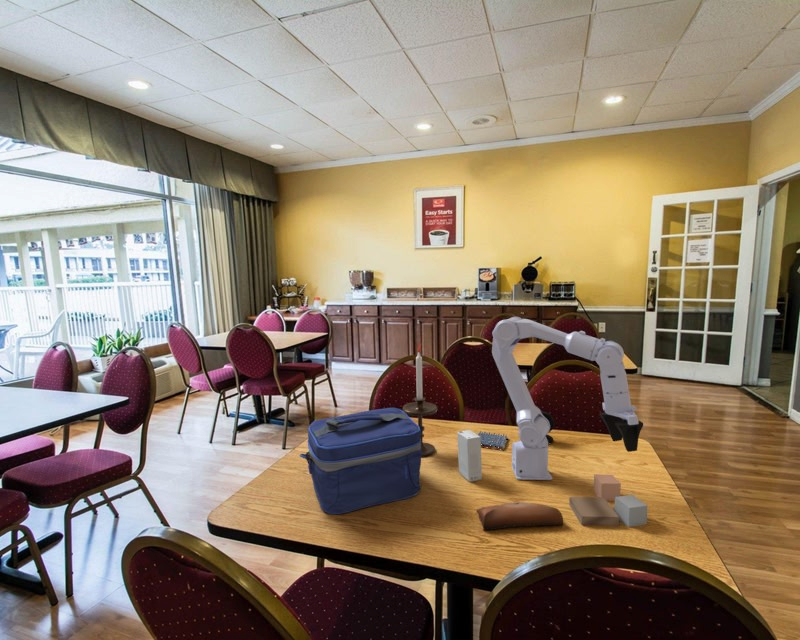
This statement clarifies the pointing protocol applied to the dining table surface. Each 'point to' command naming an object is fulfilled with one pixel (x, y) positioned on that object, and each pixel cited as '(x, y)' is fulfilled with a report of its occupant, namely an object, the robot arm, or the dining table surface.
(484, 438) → the woven mat
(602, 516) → the walnut slab
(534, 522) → the sunglasses case
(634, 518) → the grey cube
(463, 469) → the skincare box
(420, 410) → the candlestick
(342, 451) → the lunch bag
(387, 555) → the dining table surface
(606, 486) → the terracotta cube
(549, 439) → the webcam
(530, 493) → the dining table surface
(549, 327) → the robot arm
